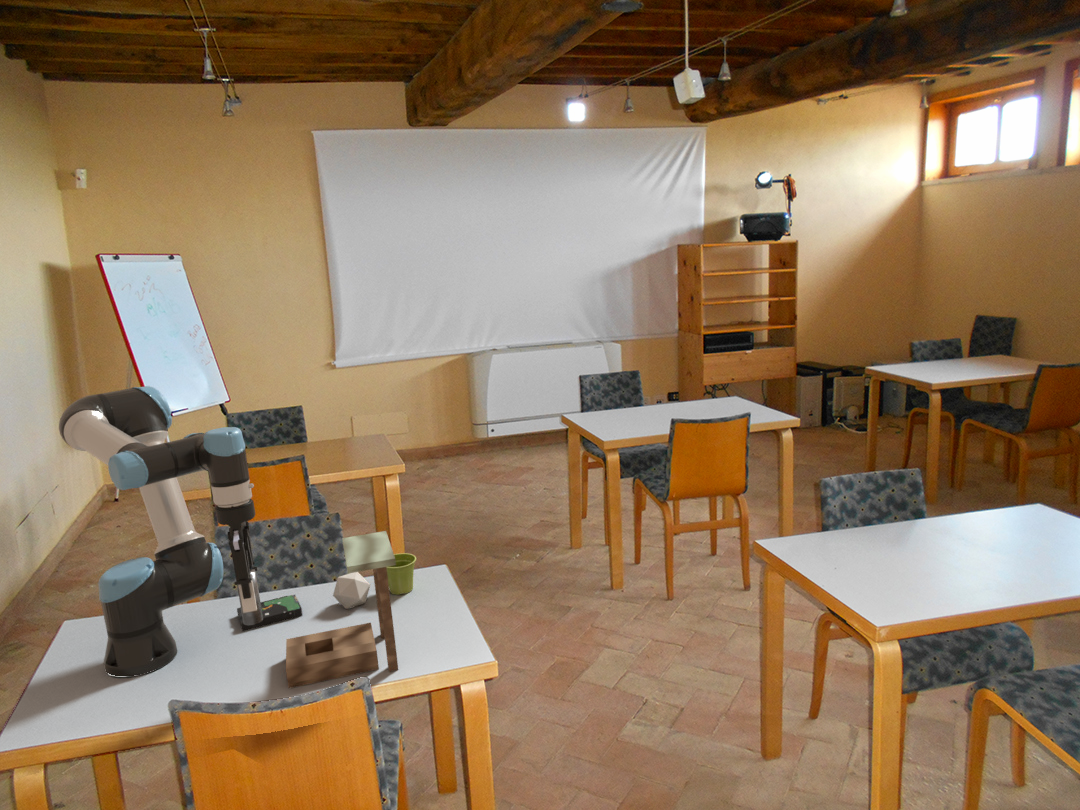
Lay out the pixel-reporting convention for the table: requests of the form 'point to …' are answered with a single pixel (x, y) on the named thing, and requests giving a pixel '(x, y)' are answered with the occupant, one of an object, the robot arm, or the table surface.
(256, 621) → the peg
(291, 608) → the disk drive
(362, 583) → the die
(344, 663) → the socket stand
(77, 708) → the table surface
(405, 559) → the plant pot
